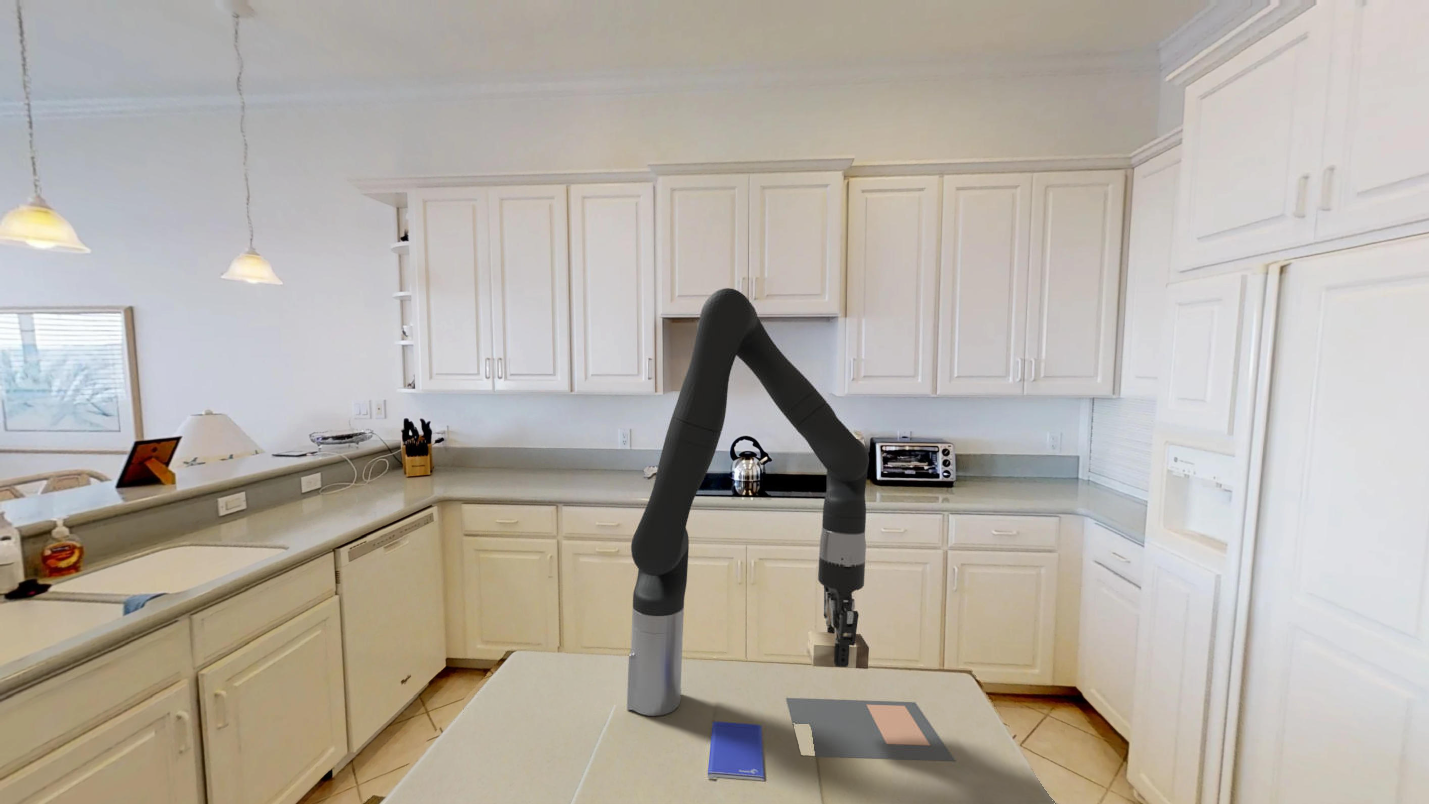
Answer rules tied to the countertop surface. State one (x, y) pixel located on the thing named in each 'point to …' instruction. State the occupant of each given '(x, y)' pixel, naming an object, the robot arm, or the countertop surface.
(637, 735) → the countertop surface
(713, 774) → the hard drive
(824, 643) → the beige rectangular block
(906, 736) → the rubber mat
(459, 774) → the countertop surface
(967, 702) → the countertop surface
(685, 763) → the countertop surface
